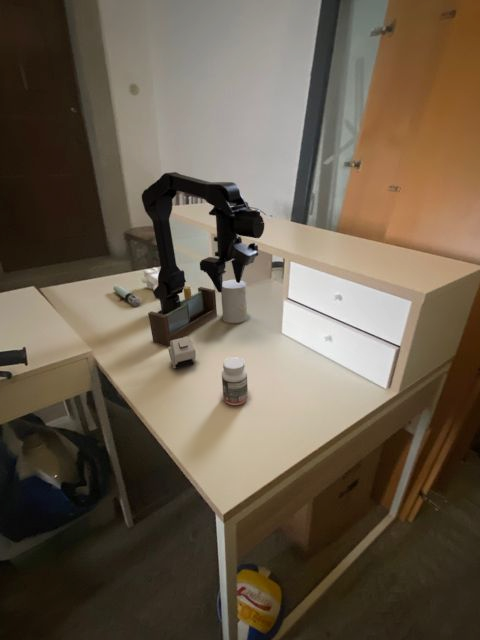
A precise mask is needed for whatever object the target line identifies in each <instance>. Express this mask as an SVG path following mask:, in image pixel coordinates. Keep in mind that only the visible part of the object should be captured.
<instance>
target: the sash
mask: <svg viewBox="0 0 480 640" xmlns="http://www.w3.org/2000/svg"><path fill="white" fill-rule="evenodd" d="M183 296H184V297H183V298H184V299H182V300H180V303H181V306H183V305H185V304H188V308H189V316H190V317H191V316H193V315H195V314H196V313H198V312H200V311H202V310H203V309H204V307H203V296H202V292H201V291H200V292H198V291H197V292H196V293H195V294H192V289H191V286H185V287H184V288H183Z"/></svg>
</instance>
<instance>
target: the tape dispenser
mask: <svg viewBox="0 0 480 640" xmlns="http://www.w3.org/2000/svg"><path fill="white" fill-rule="evenodd" d="M168 355H169V358H170V362H171V364H172V368H173V369H178V368H183V367H186V366H191V365H194V364H195V363H196V357H197V353H196V348H195V346H194V345H193V343H192V340H191V338H190V336H185V337H183V338H179V339H175V340H172V341H170V346H169V347H168Z"/></svg>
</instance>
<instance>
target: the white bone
mask: <svg viewBox="0 0 480 640" xmlns="http://www.w3.org/2000/svg"><path fill="white" fill-rule="evenodd" d="M158 275H159V269H158V268H157V267H152V268H151V269H144V270H143V276H142V278H141V282H142V283H143V284H146V287H147V288H148V289H149V290H150V289H151V290H153V291H154V290H155V289H156V288H157V286H158Z"/></svg>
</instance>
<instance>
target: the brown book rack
mask: <svg viewBox="0 0 480 640" xmlns="http://www.w3.org/2000/svg"><path fill="white" fill-rule="evenodd" d="M200 291H201V292H202V296H203V307H204V309H203V310H202V311H200V312H198V313H196V314H195V315H193V316H191V317H190V316H189V308H188V304H185V305H183V306H181V307H179V308H177V309H175V310H173V311H171V312H170V313H168V314H166V315H164V314H160V313H159V312H156V311H153V310H152V311H149V312H148V313H147V316H148V321H149V326H150V331H151V338H152V342H153V343H154V344H158V345H161V346H164V347H167V348H170V347H171V346H170V341H172V340H175V339H179V338H184V337H188V335H190V334H191V333H193V332H195V331H196V330H198V329H199V328H201V327H202V326H205V325H206V324H208V323H209V322H210V321H212V320H213V319H216V318H217V317H218V311H217V310H218V309H217V298H216V290H215V289H212V288H207V287H204V286H199V287H197V293H198V292H200Z"/></svg>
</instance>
